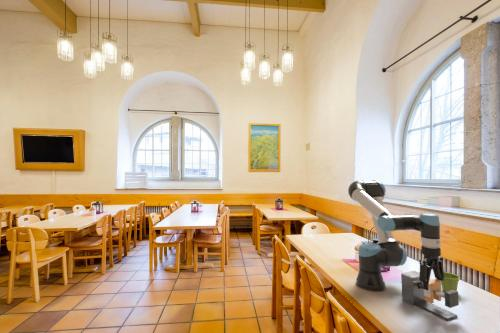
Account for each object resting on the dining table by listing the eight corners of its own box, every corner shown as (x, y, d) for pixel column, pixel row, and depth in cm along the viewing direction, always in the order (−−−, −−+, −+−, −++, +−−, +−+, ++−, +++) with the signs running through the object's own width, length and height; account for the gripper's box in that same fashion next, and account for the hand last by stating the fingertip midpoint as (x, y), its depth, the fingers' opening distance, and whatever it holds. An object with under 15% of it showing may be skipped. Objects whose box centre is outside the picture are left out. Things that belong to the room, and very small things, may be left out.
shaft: (416, 292, 121) (415, 280, 121) (424, 290, 123) (423, 278, 123) (450, 307, 107) (449, 294, 107) (458, 305, 109) (458, 291, 109)
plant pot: (450, 287, 139) (449, 271, 140) (465, 295, 130) (464, 278, 130) (434, 287, 139) (433, 272, 139) (448, 295, 129) (447, 279, 130)
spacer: (424, 300, 116) (424, 281, 116) (434, 297, 119) (433, 278, 119) (431, 303, 113) (430, 283, 114) (441, 300, 116) (440, 281, 116)
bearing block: (402, 300, 125) (401, 273, 126) (415, 296, 129) (414, 270, 129) (445, 321, 107) (443, 290, 107) (459, 316, 110) (458, 286, 111)
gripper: (424, 251, 110) (427, 302, 109) (452, 246, 117) (454, 294, 116) (408, 246, 117) (410, 295, 116) (435, 242, 124) (437, 287, 123)
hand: (432, 294), depth 116 cm, fingers closed on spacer, 7 cm apart
